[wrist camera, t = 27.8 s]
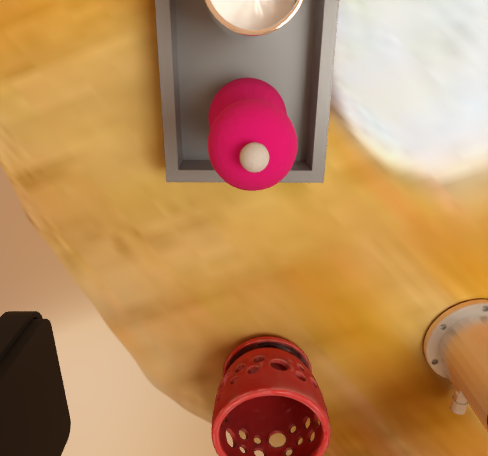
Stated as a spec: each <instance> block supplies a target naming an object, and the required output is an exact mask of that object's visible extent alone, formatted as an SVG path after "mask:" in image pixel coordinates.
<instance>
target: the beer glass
mask: <svg viewBox="0 0 488 456" xmlns="http://www.w3.org/2000/svg"><path fill="white" fill-rule="evenodd" d="M203 1H204V4H205V7H206V9H207V11H208V13H209V15H210V17H211V18H212V20H213V21H214V22H215V23H216V24H217V26H218V27H219V28H221V29H222V30H223V31H224V32H226V33H227V34H229V35H231V36H233V37H235V38H238V39H242V40H250V41H253V40H261V39H265V38H268V37H270V36H272V35H274V34H276V33H277V32H279V31H280V30H281V29H283V28H284V27H285V26H286V25H287V24H288V23H289V22H290V21H291V19H292V18H293V17H294V15H295V14H296V13H297V11H298V10H299V8H300V6H301V4H302V2H303V0H203Z"/></svg>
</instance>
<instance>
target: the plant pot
mask: <svg viewBox="0 0 488 456" xmlns="http://www.w3.org/2000/svg"><path fill="white" fill-rule="evenodd" d="M308 418H310V426H309V427H308V428H306V421H307V419H308ZM318 419H319V420H320V425H319V424H318ZM293 426H296V431H295V432H293V433H291V432H290V430H291V428H292V427H293ZM226 430H227V431H228V432H229V433H230V435H231V437H232V439H233V447H231V446H230V445H229V444H228V443H227V439H226ZM239 430H241V431H243V432H244V433H245V435H246V439H242V438H241V437H240V435H239ZM313 432H315V437H314V440H313V441H312V442H311V440H310V439H311V435H312V433H313ZM275 433H282V434H283V435H285V437H286V442H285V444H284V445H282V446H281V447H277V448H275V447H273V446H271V445H270V443H269V438H270V436H271V435H273V434H275ZM330 434H331V429H330V422H329V417H328V413H327V409H326V406H325V403H324V400H323V396H322V393H321V390H320V388H319V386H318V384H317V382H316V380H315V378H314V376H313V375H312V370H311V365H310V362H309V360H308V358H307V356H306V355H305V353H304V352H303V351H302V350H301V349H300V348H299V347H298V346H296V345H295V344H294V343H292V342H290V341H288V340H285V339H282V338H278V337H269V336H266V337H258V338H253V339H250V340H248V341H245V342H244V343H242V344H240V345H239V346H237V347H236V348H235V349H234V350H233V351H232V352H231V353H230V354H229V356H228V357H227V359H226V361H225V364H224V367H223V379H222V381H221V383H220V386H219V389H218V392H217V395H216V400H215V405H214V410H213V417H212V441H213V445H214V448H215V450H216V452H217V454H218V455H219V456H255V454H254V451H256V450H260V451H262V452H263V453H264V456H286V451H287V450H290V449H292V450H293V452H292V454H291V455H290V456H322V455H323V454H324V452H325V451H326V449H327V447H328V444H329V441H330ZM254 438H259V439H260V440H261V443H260V444H257V443H255V442H254ZM300 438H303V441H302V443H301V444H300V445H298V441H299V440H300ZM239 447H242V448H244V450H245V453H242V452H241V450H240V449H239Z"/></svg>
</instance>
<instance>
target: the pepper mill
mask: <svg viewBox="0 0 488 456" xmlns="http://www.w3.org/2000/svg"><path fill="white" fill-rule="evenodd" d="M208 120H209V127H210V131H209V135H208V154H209V159H210V161H211V164H212V166H213V168H214V169H215V171H216V172H217V174H218V175H219V176H220V177H221V178H222V179H223V180H224V181H225V182H226V183H228V184H230V185H231V186H233V187H236V188H239V189H242V190H248V191H256V190H262V189H266V188H269V187H271V186H273V185H275V184H277V183H278V182H280V181H281V180H282V179H283V178H284V177H285V176H286V175H287V174H288V172H289V171H290V169H291V168H292V166H293V163H294V161H295V158H296V154H297V148H298V147H297V135H296V131H295V128H294V126H293V124H292V122H291V120H290V118H289V117H288V116H287V112H286V107H285V104H284V101H283V99H282V97H281V96H280V94H279V93H278V92H277V90H276V89H275V88H274V87H272V86H271V85H270V84H268V83H267V82H265V81H262V80H260V79H256V78H240V79H236V80H233V81H231V82H229V83H228V84H226V85H225V86H223V87H222V88H221V89H220V90H219V91H218V92H217V94H216V95H215V97H214V98H213V100H212V103H211V105H210V109H209V116H208Z"/></svg>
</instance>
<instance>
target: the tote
mask: <svg viewBox="0 0 488 456" xmlns="http://www.w3.org/2000/svg"><path fill="white" fill-rule="evenodd" d="M338 7H339V0H303V2H302V4H301V6H300V8H299V10H298V11H297V13H296V14H295V15H294V17H293V18H292V19H291V21H290V22H289V23H288V24H287V25H286V26H285V27H284V28H283V29H281V30H280V31H279V32H277V33H276V34H274V35H272V36H270V37H268V38H265V39H261V40H253V41H250V40H242V39H238V38H235V37H233V36H231V35H229V34H227V33H226V32H224V31H223V30H222V29H221V28H219V27H218V26H217V24H216V23H215V22H214V21H213V20H212V18H211V17H210V15H209V13H208V11H207V9H206V7H205V4H204V1H203V0H155V11H156V27H157V42H158V58H159V73H160V89H161V105H162V120H163V136H164V151H165V167H166V182H225V181H224V180H223V179H222V178H221V177H220V176H219V175H218V174H217V172H216V171H215V169H214V168H213V166H212V164H211V161H210V159H209V154H208V135H209V131H210V127H209V120H208V116H209V109H210V105H211V103H212V100H213V98H214V97H215V95H216V94H217V92H218V91H219V90H220V89H221V88H222V87H223V86H225V85H226V84H228V83H229V82H231V81H233V80H236V79H240V78H256V79H260V80H262V81H265V82H267V83H268V84H270V85H271V86H272V87H274V88H275V89H276V90H277V92H278V93H279V94H280V96H281V97H282V99H283V101H284V104H285V107H286V112H287V116H288V117H289V118H290V120H291V122H292V124H293V126H294V128H295V131H296V135H297V147H298V148H297V154H296V158H295V161H294V163H293V166H292V168H291V169H290V171H289V172H288V174H287V175H286V176H285V177H284V178H283V179H282V180H281V181H280V182H284V183H323V182H324V170H325V158H326V147H327V135H328V124H329V112H330V100H331V89H332V77H333V65H334V54H335V42H336V31H337V19H338Z"/></svg>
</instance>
